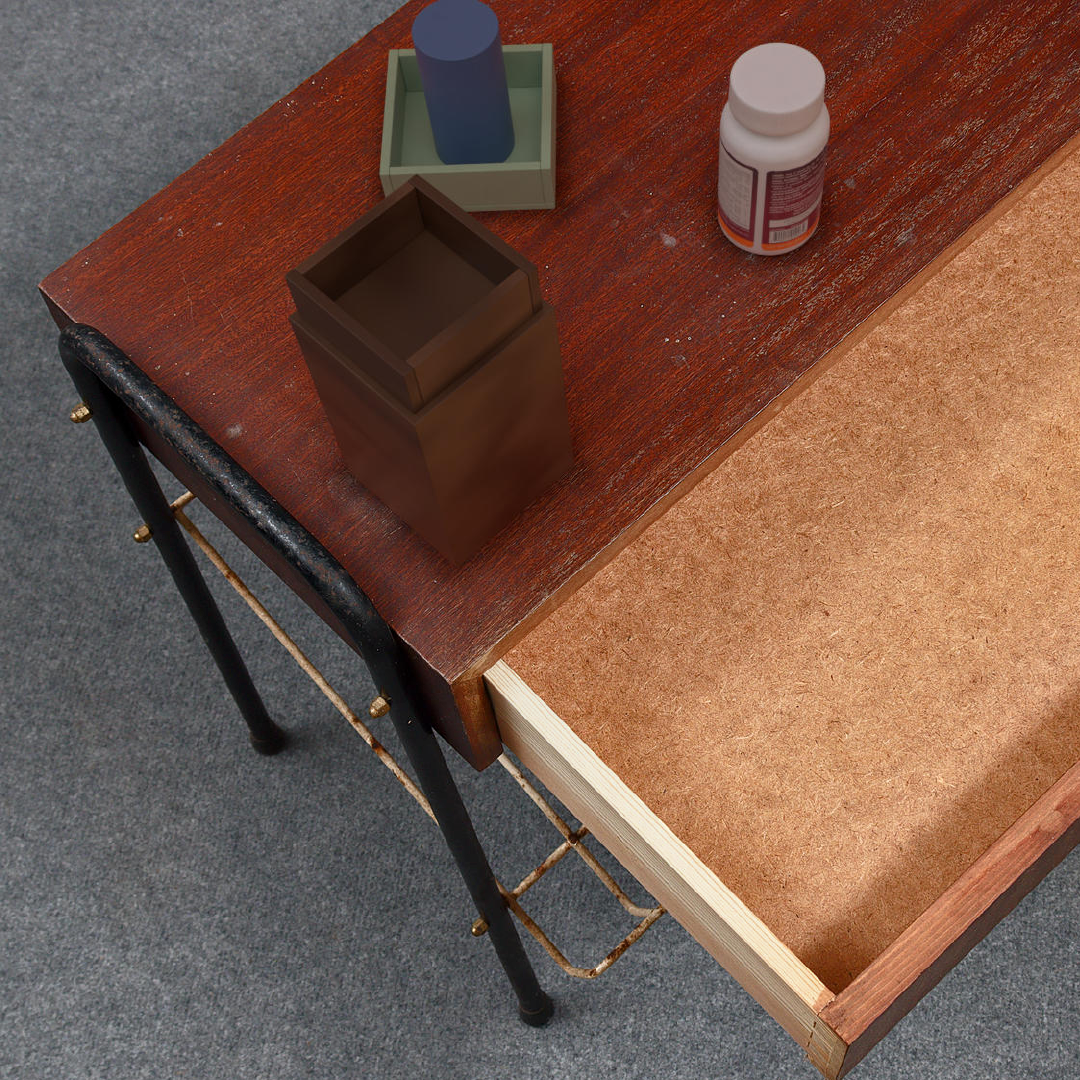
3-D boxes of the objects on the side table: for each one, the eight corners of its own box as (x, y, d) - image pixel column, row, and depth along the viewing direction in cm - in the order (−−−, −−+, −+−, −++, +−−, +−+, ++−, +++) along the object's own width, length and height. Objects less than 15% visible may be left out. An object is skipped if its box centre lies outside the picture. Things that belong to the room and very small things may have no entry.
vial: (433, 175, 90) (409, 61, 82) (437, 114, 92) (413, -2, 84) (514, 172, 90) (497, 58, 82) (515, 111, 92) (499, -6, 84)
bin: (389, 214, 89) (379, 174, 86) (398, 91, 94) (389, 49, 91) (555, 209, 89) (550, 168, 86) (556, 85, 94) (552, 42, 90)
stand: (457, 569, 78) (402, 387, 63) (348, 471, 81) (271, 275, 66) (575, 465, 81) (550, 266, 66) (465, 374, 84) (417, 163, 69)
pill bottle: (830, 193, 89) (849, 47, 79) (802, 270, 86) (819, 129, 76) (733, 171, 90) (740, 24, 80) (703, 246, 87) (706, 104, 77)
